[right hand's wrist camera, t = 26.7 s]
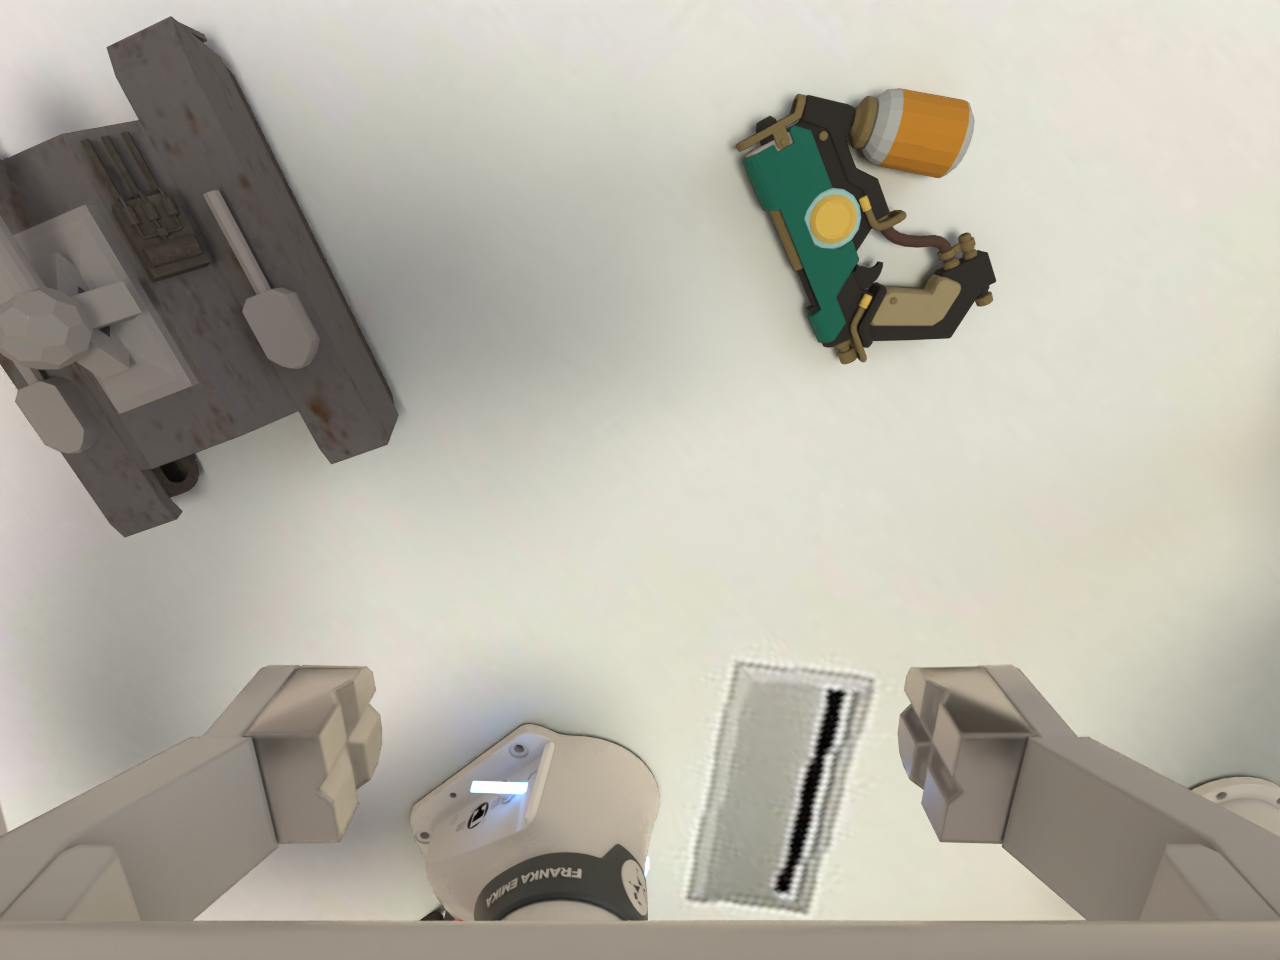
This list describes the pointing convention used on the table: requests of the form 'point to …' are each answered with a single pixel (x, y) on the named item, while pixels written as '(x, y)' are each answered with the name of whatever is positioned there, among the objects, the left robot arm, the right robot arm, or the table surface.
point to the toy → (172, 290)
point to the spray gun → (865, 213)
